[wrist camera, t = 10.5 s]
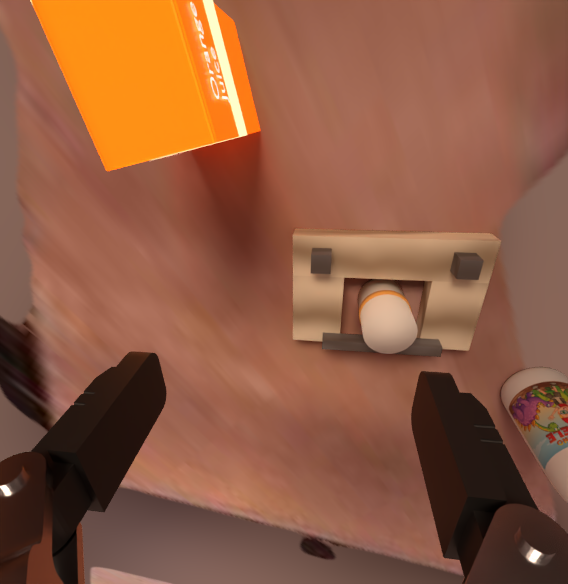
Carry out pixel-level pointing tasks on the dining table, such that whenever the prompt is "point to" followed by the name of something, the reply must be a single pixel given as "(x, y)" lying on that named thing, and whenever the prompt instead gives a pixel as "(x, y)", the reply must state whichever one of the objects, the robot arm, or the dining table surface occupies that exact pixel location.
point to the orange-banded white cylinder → (386, 317)
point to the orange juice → (151, 74)
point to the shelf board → (396, 266)
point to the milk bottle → (542, 419)
